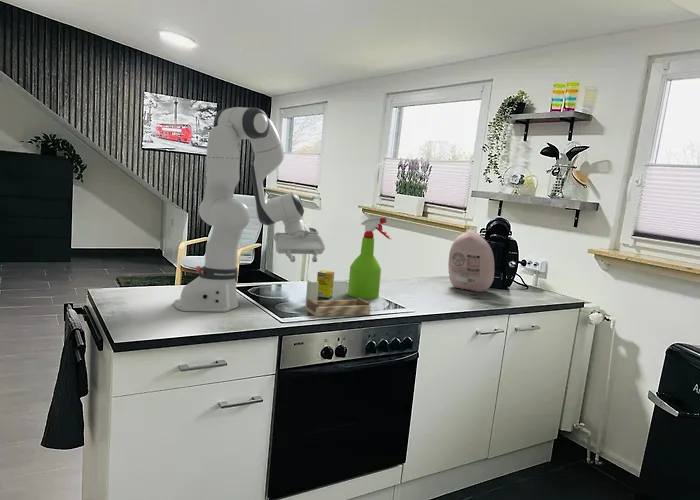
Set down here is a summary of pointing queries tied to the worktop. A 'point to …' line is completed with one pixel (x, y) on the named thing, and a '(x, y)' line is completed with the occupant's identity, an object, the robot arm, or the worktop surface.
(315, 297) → the pale grey-green block
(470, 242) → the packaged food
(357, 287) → the spray bottle
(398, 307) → the worktop surface
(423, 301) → the worktop surface
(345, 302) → the wooden tray
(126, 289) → the worktop surface
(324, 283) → the supplement box
